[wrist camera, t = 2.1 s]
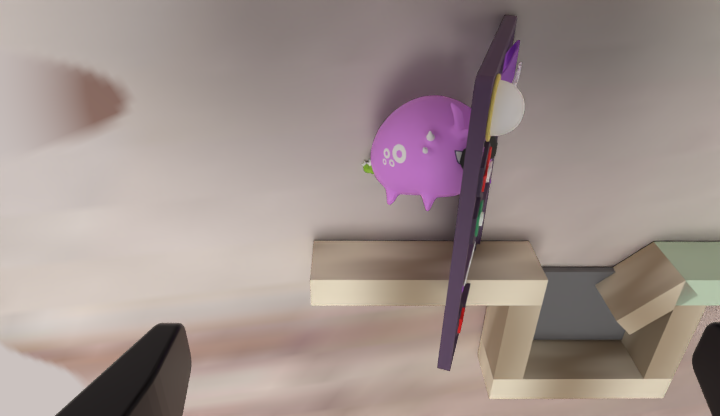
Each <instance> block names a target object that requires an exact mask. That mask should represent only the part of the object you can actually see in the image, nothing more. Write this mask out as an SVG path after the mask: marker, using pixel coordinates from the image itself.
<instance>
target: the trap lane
mask: <svg viewBox="0 0 720 416" xmlns="http://www.w3.org/2000/svg"><path fill="white" fill-rule="evenodd" d="M453 244H454V241H314V243H313V254H312V264H311V275H310V291H311V306H445V305H446V297H447V290H448V282H449V274H450V267H451V259H452V252H453ZM613 269H614V270H615V273H613V274H612V275H610V276H609V277H607V278H605V279H604V280H602V281H601V282H599V283H598V284H596V285H595V286H596V288H597V290H598V291H599V293H600V295H601V296H602V298H603V300H604V301H605V303H606V305H607V306H608V308H609V310H610V311H611V313H612V315H613V316H614V318H615V320H616V321H617V322H618V323H619V324H620V325H621V326H622V327H623V328H624V329H625V330H626V331H625V333H624V336H623V338H622V340H533V337H534V334H535V330H536V326H537V322H538V318H539V314H540V310H541V306H542V303H543V299H544V295H545V291H546V287H547V283H548V279H547V277H546V275H545V273H544V271H543V268H542V266H541V264H540V262H539V260H538V258H537V256H536V254H535V252H534V250H533V248H532V246H531V244H530V242H529V241H481V242H480V244H477V245H476V250H475V251H474V252H473V257H472V260H471V265H470V268H469V272H468V276H467V280H466V283H471V284H470V290H469V294H468V298H467V302H466V306H487V308H486V313H485V319H484V324H483V329H482V335H481V340H480V345H479V351H478V359H479V363H480V366H481V370H482V374H483V377H484V381H485V385H486V389H487V392H488V396H489V399H600V398H663V397H664V395H665V393H666V391H667V389H668V387H669V385H670V383H671V381H672V378H673V376H674V374H675V372H676V370H677V368H678V366H679V364H680V361H681V359H682V357H683V355H684V353H685V351H686V349H687V347H688V344H689V342H690V340H691V338H692V336H693V334H694V332H695V330H696V328H697V325H698V323H699V321H700V319H701V317H702V315H703V313H704V311H705V308H706V306H707V305H681V304H683V303H681V304H680V305H676V304H679V303H680V302H681V301H680V302H679V301H678V298H679V296H682V298H683V295H685V294H683V293H681V292H682V291H683V292H684V291H685V293H686V294H687V293H688V292H689V293H692V292H693V293H694V294H695V293H696V292H694V290H692V291H689V290H691V289H692V288H689V287H687V284H688V283H687V282H686V284H685V281H686V280H685V279H684V278H683V277H682V276H681V274H680V273H679V272H678V271H677V270H676V268H675V267H674V266H673V265H672V264H671V262H670V261H669V260H668V259H667V258H666V256H665V255H664V254H663V253H662V251H661V250H660V249H659V248H658V247H657V245H656V244H655V243H654V242H652V243H651V244H649V245H648V246H646V247H644V248H643V249H641V250H640V251H638V252H636V253H635V254H633V255H632V256H630V257H628V258H627V259H625V260H624V261H622V262H621V263H619V264H617V265H616V266H614V267H613ZM684 285H685V287H684ZM688 286H689V284H688ZM686 287H687V288H686ZM690 287H691V286H690ZM682 288H683V289H682ZM688 288H689V290H687V291H686V289H688ZM680 293H681V294H683V295H681V294H680ZM689 293H688V294H689ZM692 295H693V294H692ZM692 295H690V296H692ZM695 295H697V294H695ZM695 295H694V298H695V297H696V296H695ZM685 297H686V295H685ZM680 298H681V297H680ZM680 298H679V300H680ZM682 298H681V300H682ZM687 298H688V300H690V298H691V297H690V298H689V297H688V296H687ZM687 298H686V300H687ZM692 298H693V296H692ZM692 298H691V299H692ZM684 299H685V298H684ZM688 300H687V301H688ZM677 302H679V303H677ZM682 302H683V300H682ZM684 302H685V301H684ZM685 303H686V302H685Z"/></svg>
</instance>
